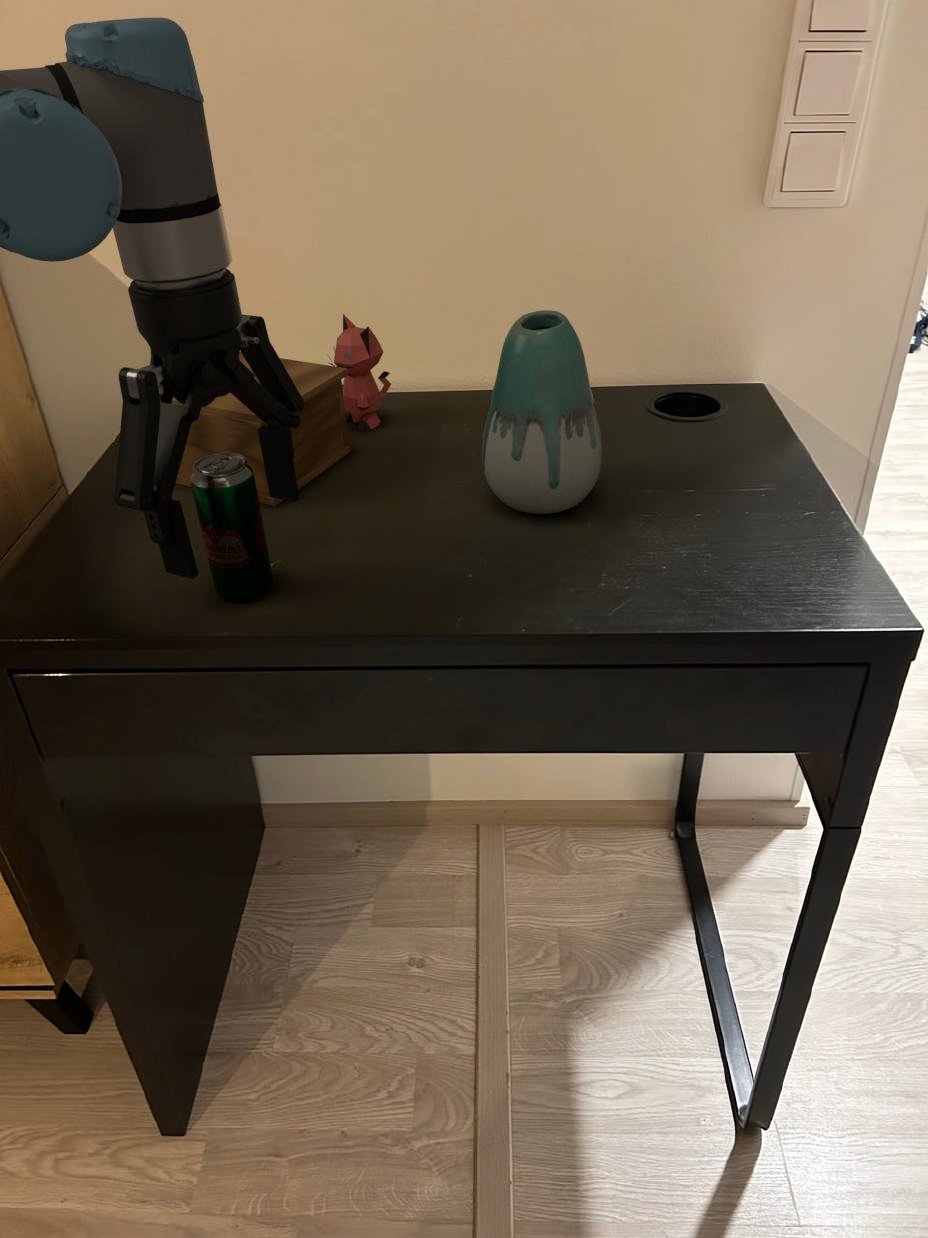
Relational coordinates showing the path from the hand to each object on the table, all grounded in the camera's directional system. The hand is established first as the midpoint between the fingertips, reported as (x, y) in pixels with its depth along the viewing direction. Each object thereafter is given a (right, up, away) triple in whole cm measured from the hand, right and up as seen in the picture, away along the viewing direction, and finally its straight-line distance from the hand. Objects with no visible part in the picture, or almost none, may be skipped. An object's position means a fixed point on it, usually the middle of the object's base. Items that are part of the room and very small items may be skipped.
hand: (236, 533), depth 80 cm
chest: (-4, +10, +24) cm, 26 cm away
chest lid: (-4, +17, +18) cm, 25 cm away
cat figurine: (+8, +16, +32) cm, 37 cm away
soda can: (0, -5, +3) cm, 6 cm away
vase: (+27, +5, +15) cm, 31 cm away
